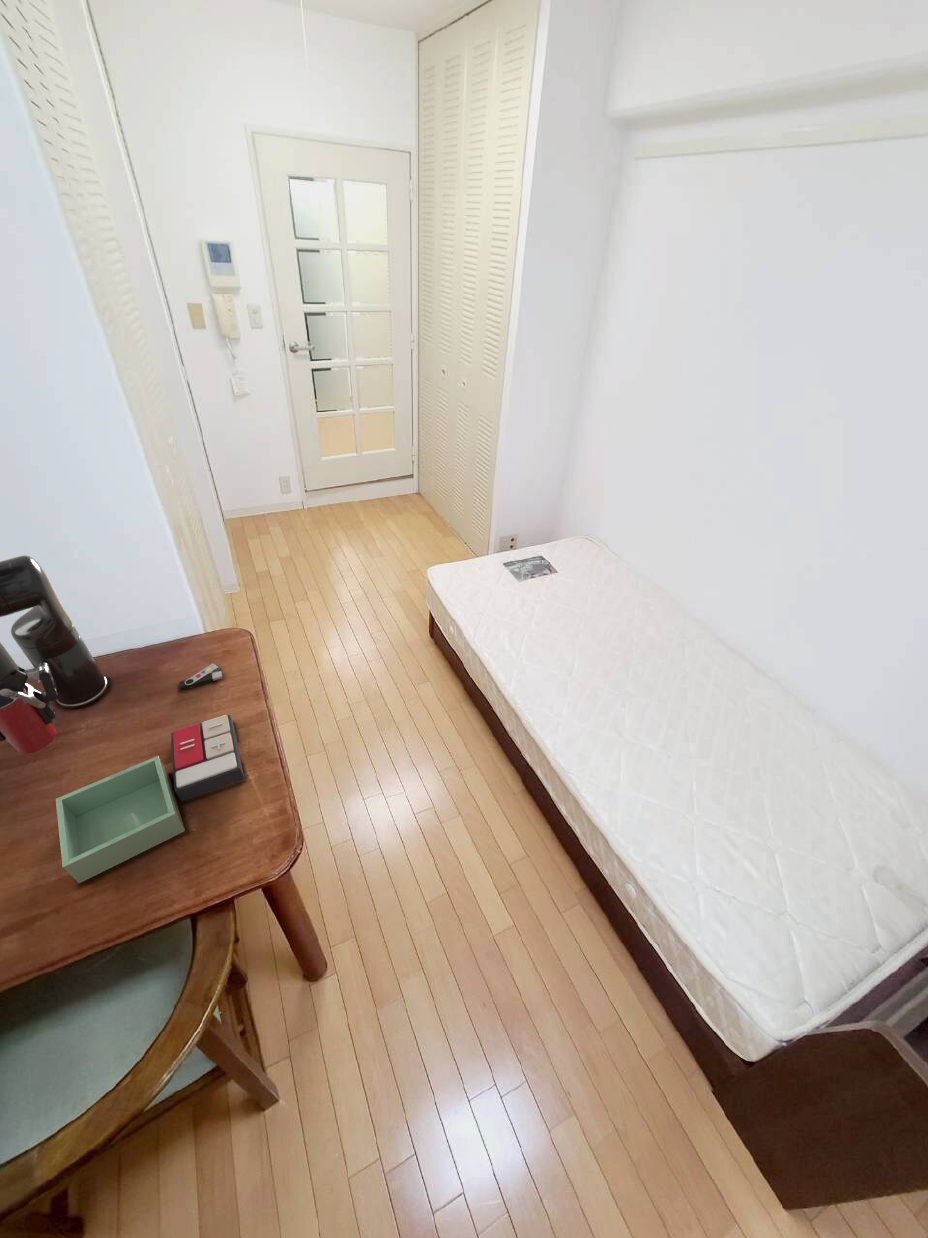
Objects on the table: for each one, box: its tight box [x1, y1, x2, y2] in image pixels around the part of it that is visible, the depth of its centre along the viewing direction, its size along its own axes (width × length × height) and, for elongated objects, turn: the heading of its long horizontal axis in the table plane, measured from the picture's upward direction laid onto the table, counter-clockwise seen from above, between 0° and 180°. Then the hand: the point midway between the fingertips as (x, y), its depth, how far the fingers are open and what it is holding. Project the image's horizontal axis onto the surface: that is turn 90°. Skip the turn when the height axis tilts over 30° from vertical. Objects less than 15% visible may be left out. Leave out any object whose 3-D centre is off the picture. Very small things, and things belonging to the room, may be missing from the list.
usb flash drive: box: [178, 663, 223, 691], centre depth 114 cm, size 9×5×1 cm, turn 117°
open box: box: [55, 755, 186, 884], centre depth 86 cm, size 14×16×6 cm
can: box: [0, 688, 57, 755], centre depth 79 cm, size 6×6×10 cm
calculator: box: [170, 714, 245, 802], centre depth 97 cm, size 11×4×15 cm
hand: (26, 728), depth 80 cm, fingers closed on can, 5 cm apart
